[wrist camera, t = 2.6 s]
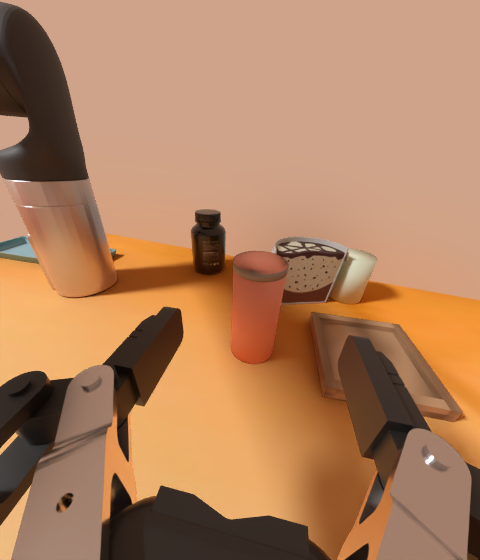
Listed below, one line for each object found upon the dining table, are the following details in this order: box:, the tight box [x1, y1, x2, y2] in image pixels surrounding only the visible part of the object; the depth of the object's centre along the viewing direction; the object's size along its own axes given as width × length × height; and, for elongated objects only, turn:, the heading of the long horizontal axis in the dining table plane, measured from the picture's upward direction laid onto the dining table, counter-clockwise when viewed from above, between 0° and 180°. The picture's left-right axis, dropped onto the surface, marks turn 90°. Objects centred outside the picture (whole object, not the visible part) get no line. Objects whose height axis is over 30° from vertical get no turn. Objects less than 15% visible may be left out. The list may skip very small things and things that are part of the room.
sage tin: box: [329, 248, 377, 304], centre depth 36 cm, size 6×6×8 cm
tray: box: [310, 312, 463, 422], centre depth 25 cm, size 12×12×2 cm
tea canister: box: [231, 251, 289, 364], centre depth 23 cm, size 6×6×12 cm
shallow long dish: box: [0, 236, 116, 264], centre depth 46 cm, size 26×9×2 cm, turn 79°
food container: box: [271, 237, 349, 305], centre depth 35 cm, size 12×6×10 cm, turn 97°
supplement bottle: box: [191, 209, 225, 275], centre depth 42 cm, size 7×7×12 cm
